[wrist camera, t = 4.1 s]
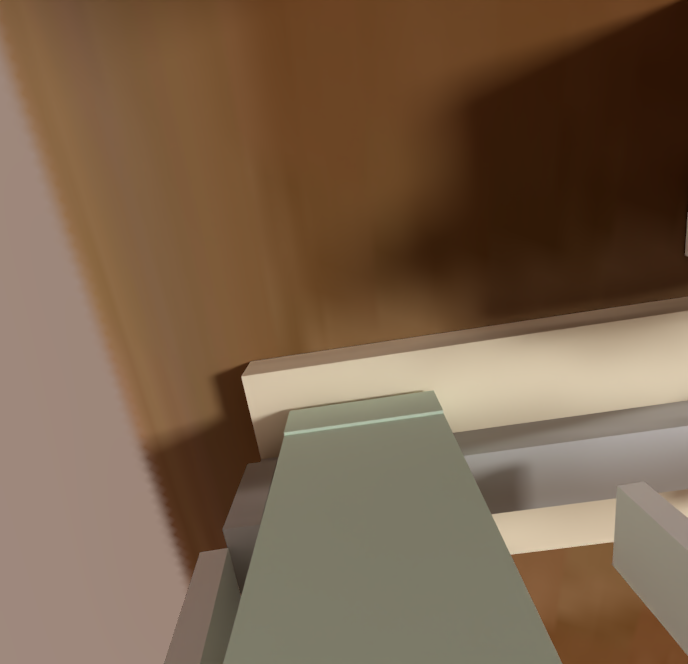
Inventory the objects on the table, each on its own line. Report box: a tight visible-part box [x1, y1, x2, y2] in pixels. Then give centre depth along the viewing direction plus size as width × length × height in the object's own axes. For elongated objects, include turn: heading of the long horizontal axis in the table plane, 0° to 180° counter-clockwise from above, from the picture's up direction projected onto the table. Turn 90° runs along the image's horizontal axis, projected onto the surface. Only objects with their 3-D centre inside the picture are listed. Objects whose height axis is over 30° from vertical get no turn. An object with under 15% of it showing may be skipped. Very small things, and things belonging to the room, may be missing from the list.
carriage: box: [223, 390, 562, 664], centre depth 11 cm, size 6×5×10 cm
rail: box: [222, 296, 688, 595], centre depth 14 cm, size 9×20×6 cm, turn 99°
